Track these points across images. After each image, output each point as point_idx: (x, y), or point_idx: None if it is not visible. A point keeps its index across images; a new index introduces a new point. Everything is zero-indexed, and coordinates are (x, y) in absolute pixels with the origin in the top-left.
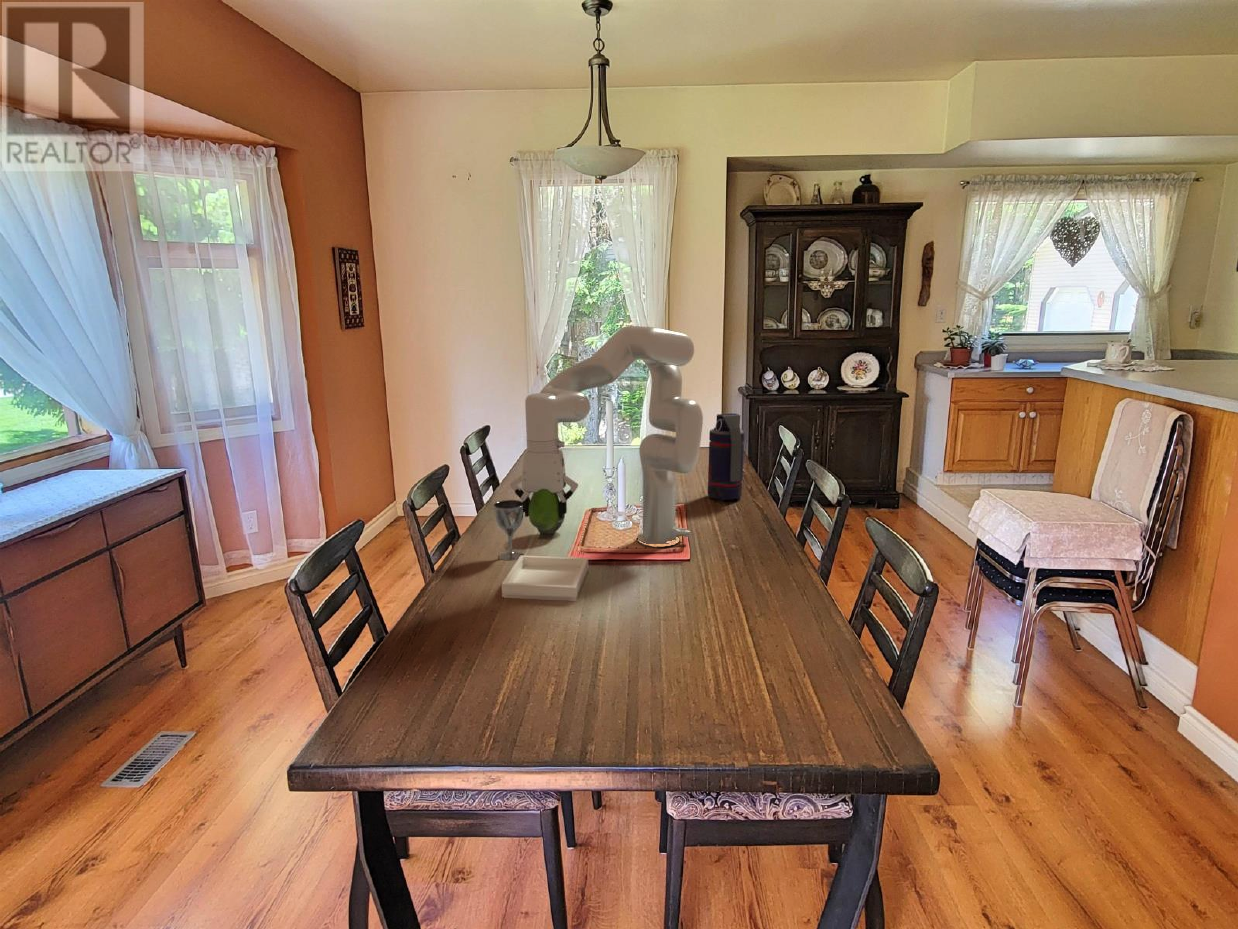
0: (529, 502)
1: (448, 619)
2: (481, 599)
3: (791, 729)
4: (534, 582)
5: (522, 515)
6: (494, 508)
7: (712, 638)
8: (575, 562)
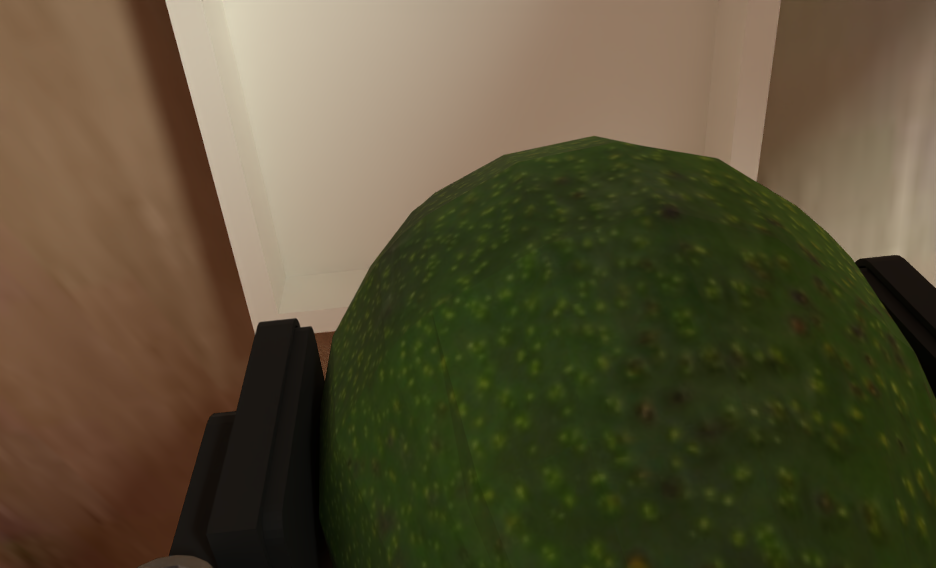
0: (303, 531)
1: (134, 515)
2: (162, 327)
3: None
4: (402, 111)
5: None
6: None
7: None
8: None
